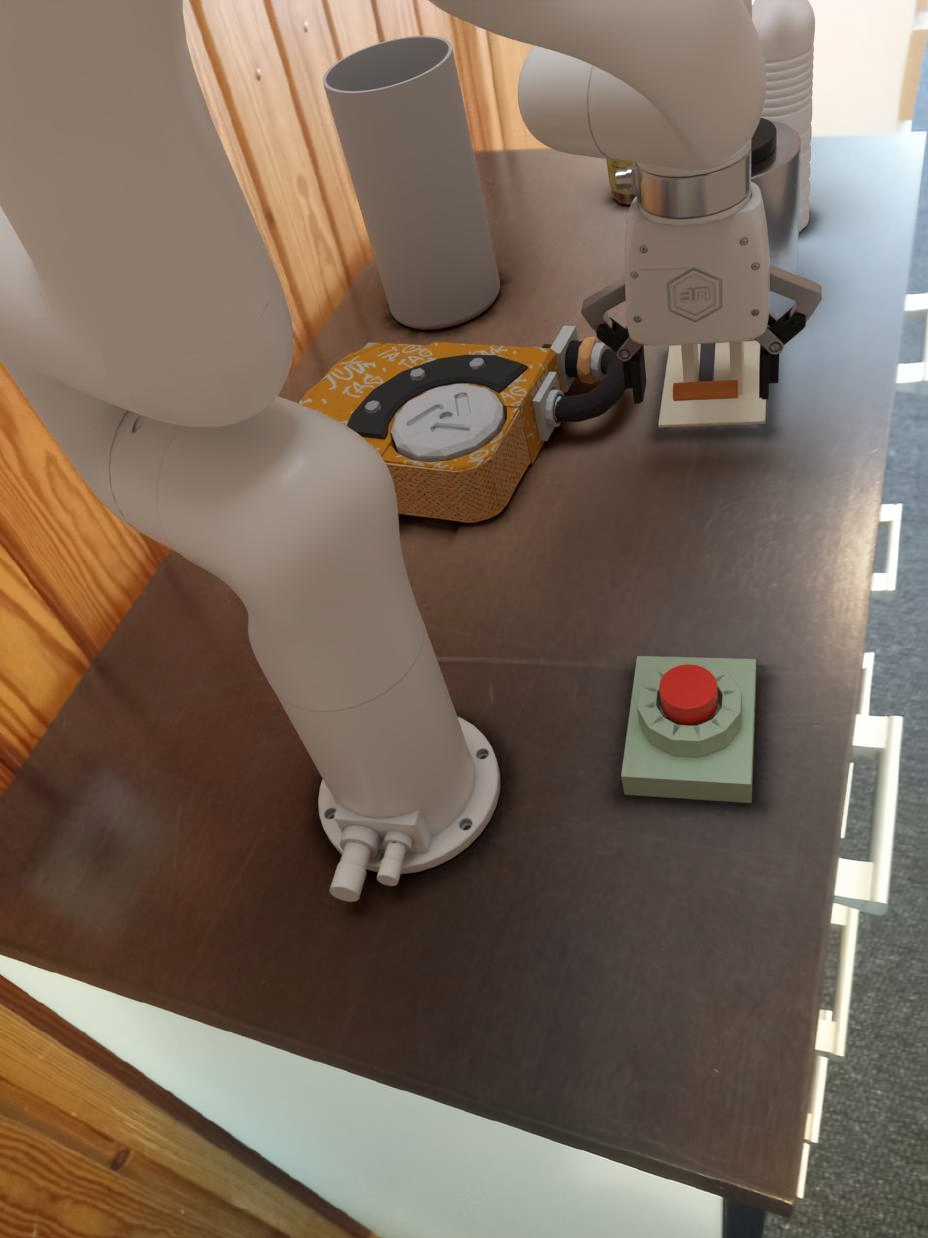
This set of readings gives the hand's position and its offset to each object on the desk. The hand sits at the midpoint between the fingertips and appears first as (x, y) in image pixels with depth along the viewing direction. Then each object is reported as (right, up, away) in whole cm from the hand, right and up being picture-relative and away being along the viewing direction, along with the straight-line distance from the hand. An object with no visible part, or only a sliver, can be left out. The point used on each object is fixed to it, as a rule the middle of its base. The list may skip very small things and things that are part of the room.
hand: (701, 391), depth 82 cm
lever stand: (+4, +2, +12) cm, 12 cm away
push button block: (-4, -26, -13) cm, 29 cm away
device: (-20, -2, +14) cm, 24 cm away
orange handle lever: (+1, +4, +3) cm, 6 cm away
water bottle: (+15, +23, +28) cm, 39 cm away
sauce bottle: (+2, +32, +40) cm, 51 cm away
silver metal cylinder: (+8, +12, +20) cm, 24 cm away
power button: (-4, -23, -15) cm, 28 cm away
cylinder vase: (-21, +17, +33) cm, 42 cm away
